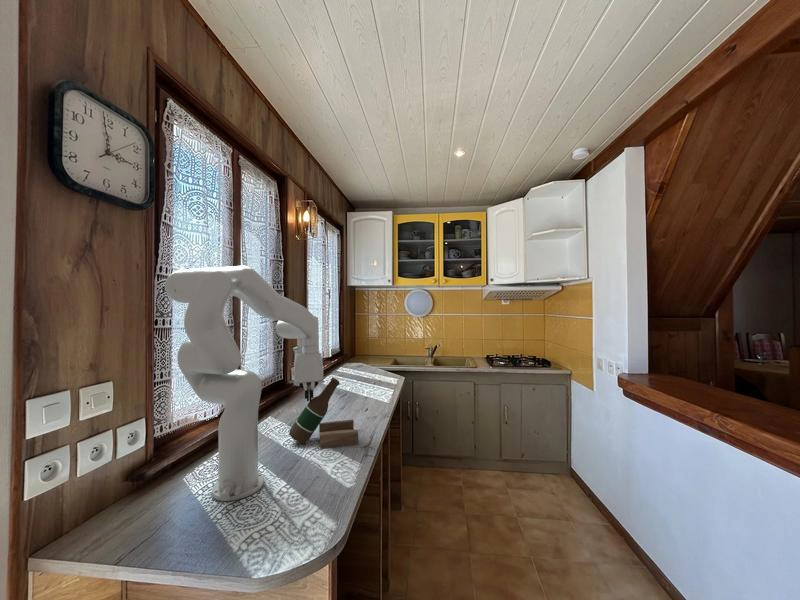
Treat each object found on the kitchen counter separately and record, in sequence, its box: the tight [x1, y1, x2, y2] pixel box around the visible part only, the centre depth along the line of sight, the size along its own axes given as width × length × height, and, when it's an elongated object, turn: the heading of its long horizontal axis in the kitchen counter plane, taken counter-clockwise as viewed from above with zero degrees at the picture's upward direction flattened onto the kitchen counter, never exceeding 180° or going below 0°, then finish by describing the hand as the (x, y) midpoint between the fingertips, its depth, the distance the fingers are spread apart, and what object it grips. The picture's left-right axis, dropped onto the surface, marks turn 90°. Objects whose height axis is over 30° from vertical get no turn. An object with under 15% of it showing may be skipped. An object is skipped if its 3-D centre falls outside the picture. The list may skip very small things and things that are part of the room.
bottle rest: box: [318, 419, 359, 450], centre depth 118 cm, size 14×13×4 cm
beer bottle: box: [288, 377, 341, 444], centre depth 117 cm, size 8×8×24 cm
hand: (309, 400), depth 116 cm, fingers closed
